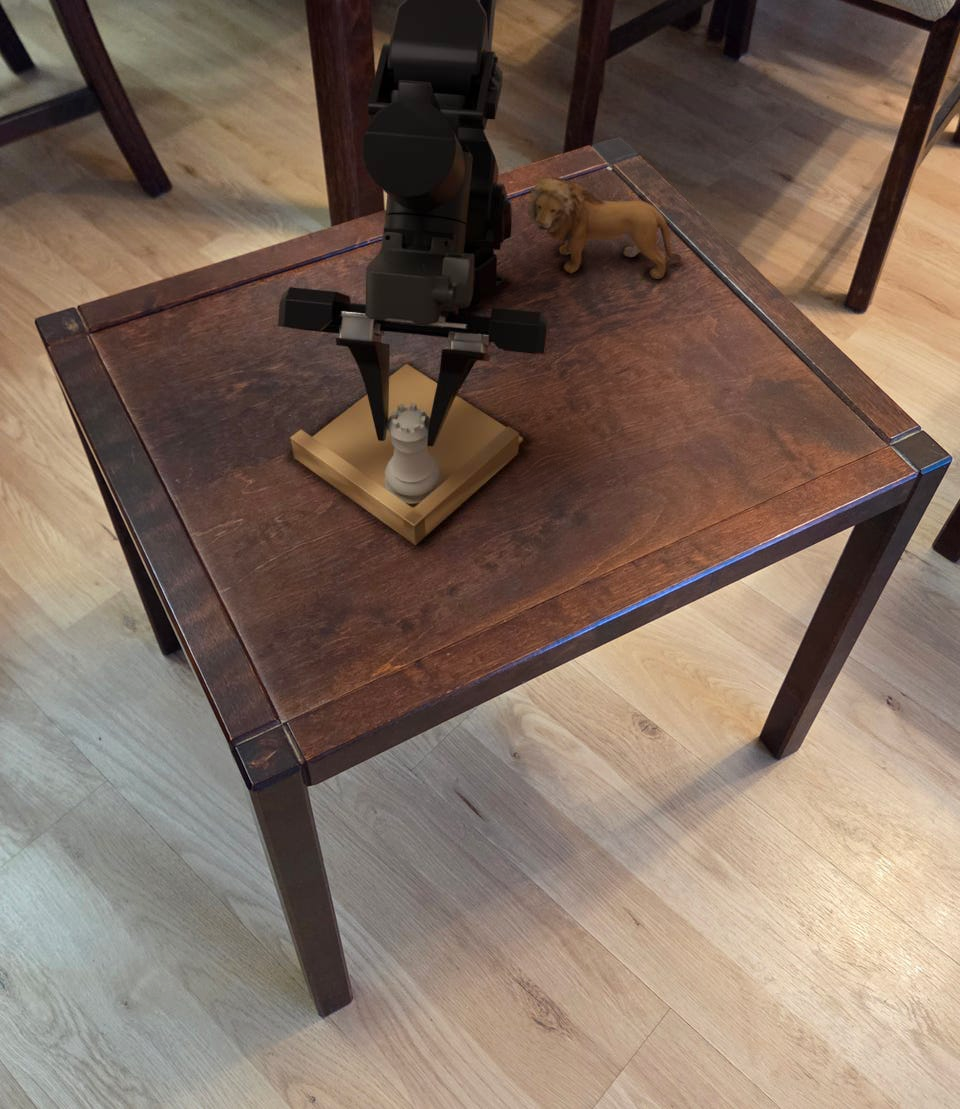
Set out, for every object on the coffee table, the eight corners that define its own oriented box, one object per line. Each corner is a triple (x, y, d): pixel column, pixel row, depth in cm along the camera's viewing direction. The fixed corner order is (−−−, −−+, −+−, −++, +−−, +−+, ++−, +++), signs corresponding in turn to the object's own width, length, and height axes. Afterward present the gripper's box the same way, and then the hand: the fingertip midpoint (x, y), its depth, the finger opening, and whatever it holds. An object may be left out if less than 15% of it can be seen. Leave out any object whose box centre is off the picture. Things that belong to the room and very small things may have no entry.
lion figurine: (526, 283, 98) (531, 199, 90) (523, 246, 101) (527, 163, 93) (684, 280, 98) (701, 197, 91) (675, 244, 101) (692, 160, 94)
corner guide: (291, 456, 85) (287, 435, 83) (406, 366, 91) (405, 345, 89) (415, 545, 80) (414, 525, 78) (528, 444, 86) (530, 423, 84)
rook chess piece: (451, 474, 83) (449, 405, 77) (425, 515, 81) (422, 447, 75) (401, 455, 85) (395, 385, 78) (374, 495, 82) (366, 426, 76)
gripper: (262, 189, 67) (246, 435, 69) (556, 216, 65) (528, 466, 68) (306, 215, 78) (291, 427, 80) (559, 239, 76) (534, 454, 79)
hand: (405, 443), depth 77 cm, fingers closed on rook chess piece, 3 cm apart
